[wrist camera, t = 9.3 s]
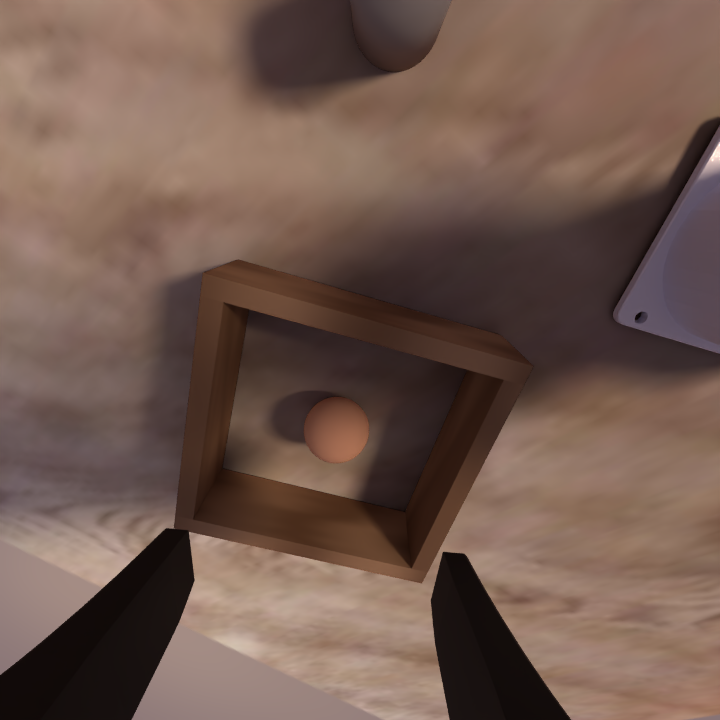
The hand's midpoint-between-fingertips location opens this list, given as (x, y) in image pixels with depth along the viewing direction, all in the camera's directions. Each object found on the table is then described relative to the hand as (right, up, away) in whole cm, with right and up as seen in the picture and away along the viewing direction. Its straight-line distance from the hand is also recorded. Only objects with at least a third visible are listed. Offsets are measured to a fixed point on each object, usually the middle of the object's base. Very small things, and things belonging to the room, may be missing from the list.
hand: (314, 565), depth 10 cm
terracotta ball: (0, +3, +8) cm, 8 cm away
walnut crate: (0, +3, +8) cm, 8 cm away
